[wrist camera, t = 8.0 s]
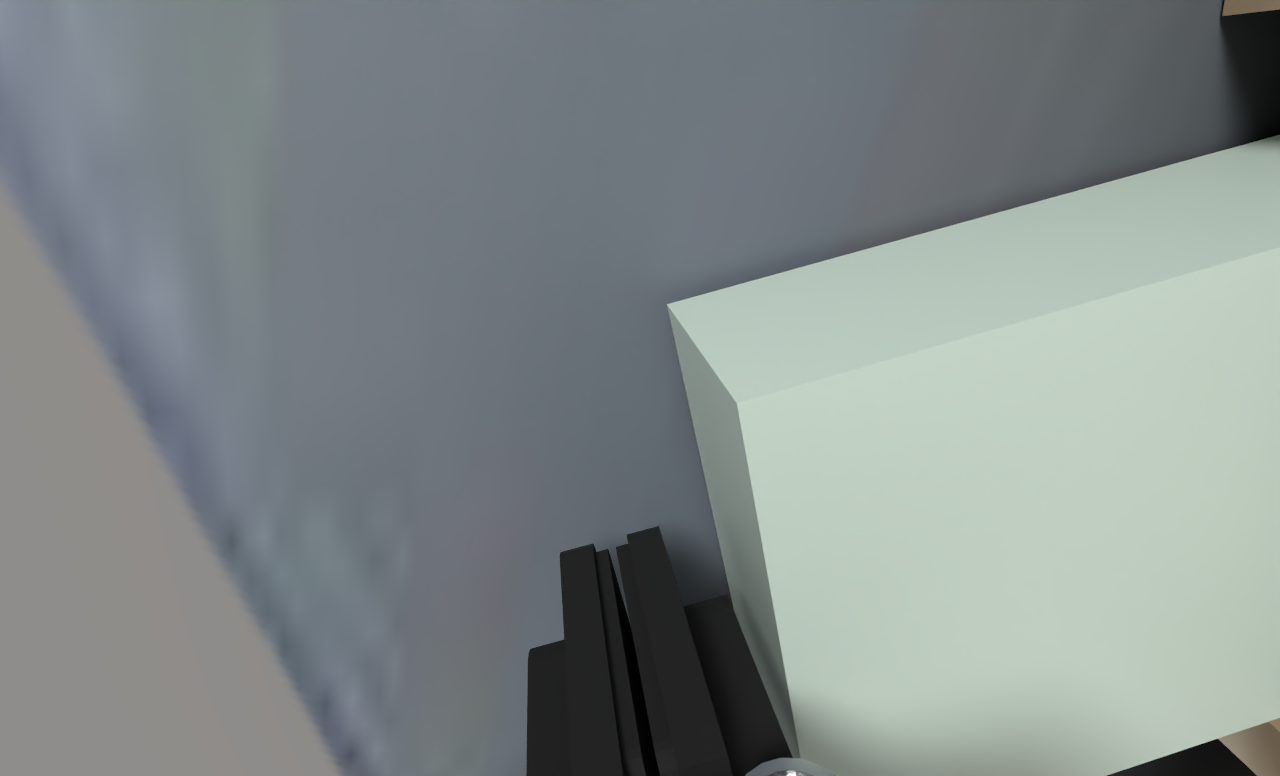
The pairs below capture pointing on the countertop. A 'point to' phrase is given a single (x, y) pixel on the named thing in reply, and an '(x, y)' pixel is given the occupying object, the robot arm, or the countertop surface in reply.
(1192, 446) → the mint green block
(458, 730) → the countertop surface
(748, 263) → the countertop surface
